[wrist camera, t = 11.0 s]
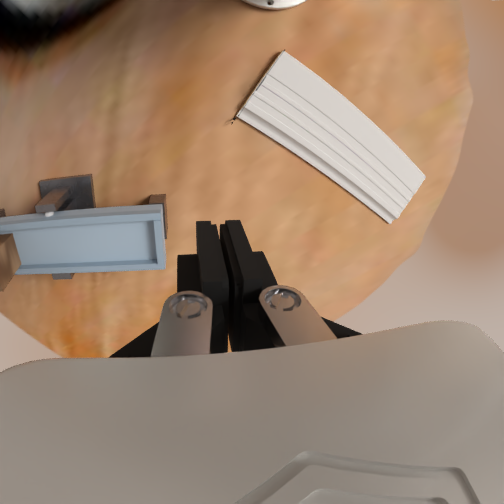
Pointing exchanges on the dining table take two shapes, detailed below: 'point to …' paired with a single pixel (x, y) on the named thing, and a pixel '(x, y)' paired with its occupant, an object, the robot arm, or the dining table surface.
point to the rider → (8, 259)
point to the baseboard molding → (331, 136)
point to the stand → (76, 200)
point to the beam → (89, 240)
